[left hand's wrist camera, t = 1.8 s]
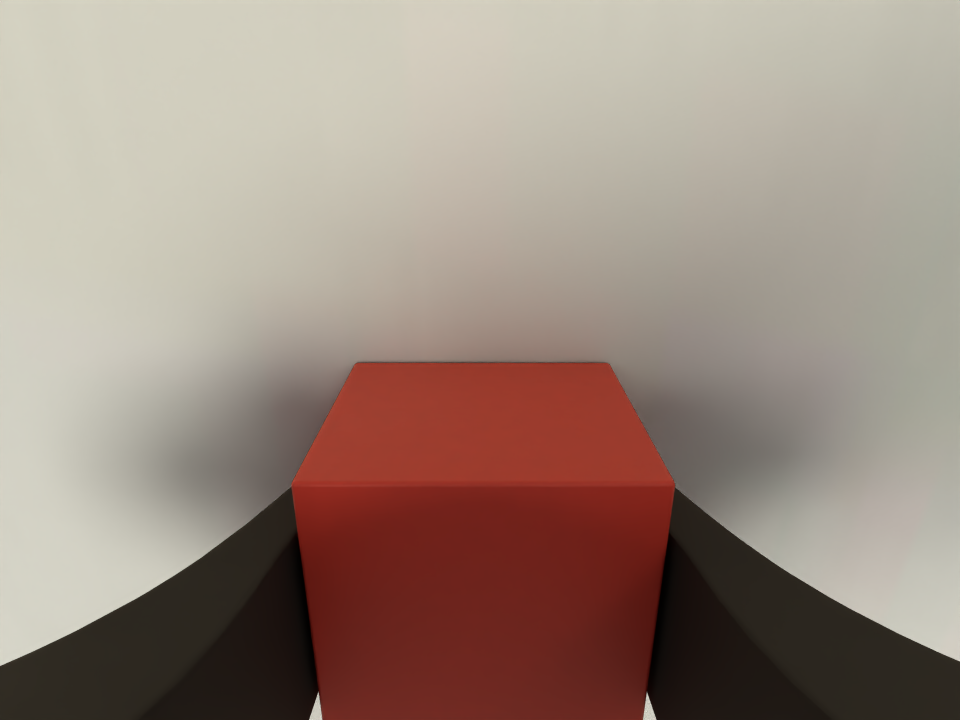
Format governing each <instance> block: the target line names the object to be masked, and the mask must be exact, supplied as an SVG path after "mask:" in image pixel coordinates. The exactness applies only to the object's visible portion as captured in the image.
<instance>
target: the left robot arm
mask: <svg viewBox="0 0 960 720" xmlns="http://www.w3.org/2000/svg"><path fill="white" fill-rule="evenodd" d="M318 691H319V690H318V682H317V675H316V667H315V660H314V652H313V645H312V637H311V629H310V622H309V614H308V607H307V599H306V592H305V584H304V577H303V569H302V562H301V554H300V547H299V539H298V531H297V524H296V516H295V509H294V501H293V494H292V487H291V488H289V489H288V490H287V491H286V492H285V493H284V494H282V495H281V496H280V497H279V498H278V499H276V500H275V501H274V502H273V503H272V504H270V505H269V506H268V507H267V508H266V509H264V510H263V511H262V512H261V513H259V514H258V515H257V516H256V517H255V518H253V519H252V520H251V521H250V522H248V523H247V524H246V525H245V526H243V527H242V528H241V529H239V530H238V531H237V532H235V533H234V534H233V535H231V536H230V537H229V538H227V539H226V540H225V541H223V542H222V543H220V544H219V545H218V546H216V547H215V548H214V549H212V550H211V551H210V552H208V553H207V554H206V555H204V556H203V557H202V558H200V559H199V560H197V561H196V562H194V563H193V564H191V565H190V566H188V567H187V568H185V569H184V570H182V571H181V572H179V573H178V574H176V575H175V576H173V577H171V578H170V579H168V580H166V581H165V582H163V583H162V584H160V585H158V586H157V587H155V588H154V589H152V590H150V591H149V592H147V593H145V594H144V595H142V596H140V597H138V598H137V599H135V600H133V601H131V602H129V603H128V604H126V605H124V606H122V607H120V608H118V609H116V610H114V611H113V612H111V613H109V614H107V615H105V616H103V617H101V618H100V619H98V620H96V621H94V622H92V623H90V624H88V625H86V626H85V627H83V628H81V629H79V630H77V631H75V632H73V633H71V634H69V635H67V636H65V637H63V638H61V639H59V640H57V641H54V642H52V643H50V644H48V645H46V646H44V647H42V648H40V649H38V650H35V651H33V652H31V653H29V654H27V655H24V656H22V657H20V658H18V659H15V660H13V661H11V662H8V663H6V664H4V665H2V666H0V720H309V718H310V715H311V712H312V709H313V706H314V703H315V700H316V697H317V694H318ZM647 693H648V696H649V699H650V702H651V705H652V708H653V711H654V714H655V716H656V719H657V720H960V662H959V661H957V660H955V659H953V658H950V657H948V656H946V655H943V654H941V653H939V652H936V651H934V650H932V649H930V648H928V647H926V646H923V645H921V644H919V643H917V642H915V641H913V640H911V639H908V638H906V637H904V636H902V635H900V634H898V633H896V632H894V631H892V630H890V629H888V628H886V627H884V626H882V625H880V624H878V623H876V622H874V621H873V620H871V619H869V618H867V617H865V616H863V615H861V614H859V613H857V612H855V611H853V610H851V609H849V608H848V607H846V606H844V605H842V604H840V603H839V602H837V601H835V600H833V599H831V598H830V597H828V596H826V595H824V594H823V593H821V592H820V591H818V590H816V589H815V588H813V587H811V586H810V585H808V584H806V583H805V582H803V581H801V580H800V579H798V578H796V577H795V576H793V575H791V574H790V573H788V572H787V571H785V570H784V569H782V568H781V567H779V566H777V565H776V564H774V563H773V562H771V561H770V560H769V559H767V558H766V557H764V556H763V555H761V554H760V553H759V552H757V551H756V550H754V549H753V548H752V547H750V546H749V545H747V544H746V543H744V542H743V541H742V540H740V539H739V538H738V537H736V536H735V535H734V534H732V533H731V532H730V531H728V530H727V529H726V528H724V527H723V526H722V525H720V524H719V523H718V522H717V521H715V520H714V519H713V518H712V517H710V516H709V515H708V514H707V513H705V512H704V511H703V510H702V509H700V508H699V507H698V506H697V505H695V504H694V503H693V502H692V501H691V500H689V499H688V498H687V497H686V496H685V495H683V494H682V493H681V492H680V491H679V490H677V489H676V488H675V490H674V497H673V504H672V512H671V519H670V526H669V534H668V541H667V548H666V555H665V563H664V570H663V577H662V585H661V592H660V599H659V606H658V614H657V621H656V628H655V636H654V643H653V650H652V657H651V665H650V672H649V679H648V686H647Z"/></svg>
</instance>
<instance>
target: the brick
mask: <svg viewBox="0 0 960 720" xmlns="http://www.w3.org/2000/svg"><path fill="white" fill-rule="evenodd" d="M291 486H292V494H293V501H294V509H295V516H296V524H297V531H298V539H299V547H300V554H301V562H302V569H303V577H304V584H305V592H306V599H307V607H308V614H309V622H310V629H311V637H312V645H313V652H314V660H315V667H316V675H317V682H318V690H319V697H320V705H321V712H322V720H643V716H644V708H645V701H646V694H647V686H648V679H649V672H650V665H651V657H652V650H653V643H654V636H655V628H656V621H657V614H658V606H659V599H660V592H661V585H662V577H663V570H664V563H665V555H666V548H667V541H668V534H669V526H670V519H671V512H672V504H673V497H674V490H675V483H674V480H673V479H672V477H671V475H670V473H669V471H668V470H667V468H666V466H665V464H664V462H663V460H662V459H661V457H660V455H659V453H658V451H657V450H656V448H655V446H654V444H653V442H652V441H651V439H650V437H649V435H648V433H647V431H646V430H645V428H644V426H643V424H642V422H641V421H640V419H639V417H638V415H637V413H636V411H635V410H634V408H633V406H632V404H631V402H630V401H629V399H628V397H627V395H626V393H625V392H624V390H623V388H622V386H621V384H620V382H619V381H618V379H617V377H616V375H615V373H614V372H613V370H612V368H611V366H610V364H608V363H356V364H355V365H354V367H353V369H352V371H351V372H350V374H349V376H348V378H347V380H346V382H345V384H344V386H343V387H342V389H341V391H340V393H339V395H338V397H337V399H336V401H335V403H334V404H333V406H332V408H331V410H330V412H329V414H328V416H327V418H326V419H325V421H324V423H323V425H322V427H321V429H320V431H319V433H318V434H317V436H316V438H315V440H314V442H313V444H312V446H311V448H310V449H309V451H308V453H307V455H306V457H305V459H304V461H303V463H302V464H301V466H300V468H299V470H298V472H297V474H296V476H295V478H294V479H293V481H292V484H291Z"/></svg>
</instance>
